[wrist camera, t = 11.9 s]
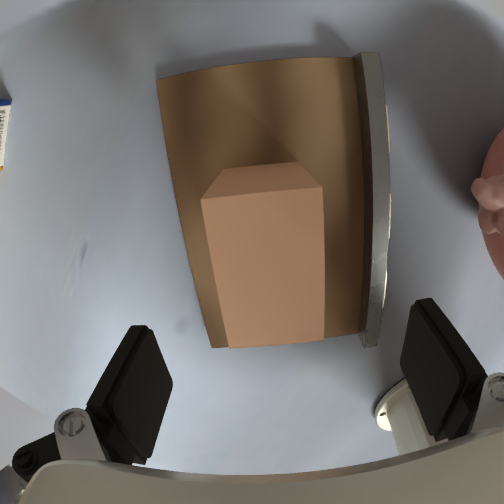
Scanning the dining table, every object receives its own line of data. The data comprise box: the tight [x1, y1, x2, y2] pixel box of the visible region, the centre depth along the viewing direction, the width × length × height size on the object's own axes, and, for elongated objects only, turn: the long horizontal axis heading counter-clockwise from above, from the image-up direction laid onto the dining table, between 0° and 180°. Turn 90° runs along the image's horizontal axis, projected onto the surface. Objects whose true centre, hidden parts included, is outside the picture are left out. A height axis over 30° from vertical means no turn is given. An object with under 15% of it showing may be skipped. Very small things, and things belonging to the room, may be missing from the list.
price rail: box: [352, 52, 391, 348], centre depth 20 cm, size 2×22×4 cm, turn 7°
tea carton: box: [200, 162, 325, 348], centre depth 17 cm, size 8×5×8 cm, turn 7°
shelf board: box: [156, 57, 364, 348], centre depth 22 cm, size 13×22×2 cm, turn 7°
